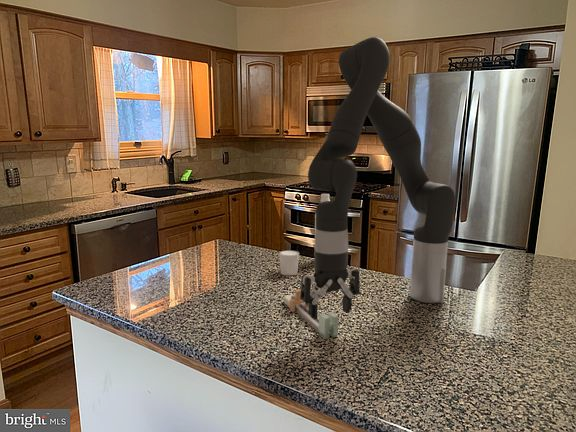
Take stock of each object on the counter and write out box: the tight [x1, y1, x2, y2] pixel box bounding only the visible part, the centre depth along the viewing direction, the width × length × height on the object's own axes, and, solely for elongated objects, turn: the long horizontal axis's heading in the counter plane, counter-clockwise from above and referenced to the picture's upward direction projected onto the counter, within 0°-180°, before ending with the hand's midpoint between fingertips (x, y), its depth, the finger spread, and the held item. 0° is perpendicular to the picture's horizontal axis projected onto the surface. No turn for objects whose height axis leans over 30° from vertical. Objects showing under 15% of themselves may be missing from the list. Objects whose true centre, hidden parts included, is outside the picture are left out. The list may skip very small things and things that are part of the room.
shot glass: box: [278, 250, 300, 276], centre depth 144 cm, size 7×7×7 cm
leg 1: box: [295, 304, 330, 340], centre depth 106 cm, size 19×1×5 cm, turn 23°
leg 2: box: [299, 302, 339, 338], centre depth 107 cm, size 19×1×5 cm, turn 22°
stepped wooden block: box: [289, 288, 309, 313], centre depth 114 cm, size 2×5×5 cm, turn 113°
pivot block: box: [283, 294, 300, 309], centre depth 118 cm, size 4×4×2 cm
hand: (330, 315), depth 99 cm, fingers open, 8 cm apart
